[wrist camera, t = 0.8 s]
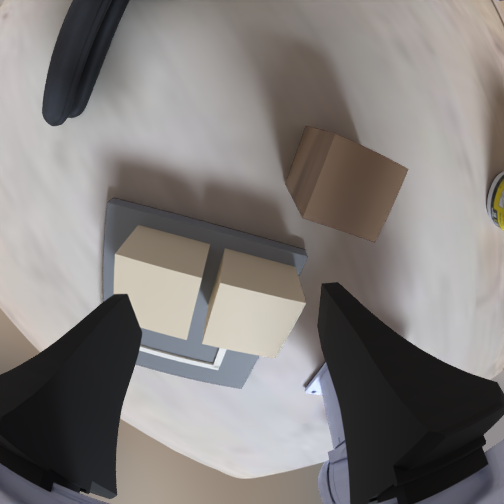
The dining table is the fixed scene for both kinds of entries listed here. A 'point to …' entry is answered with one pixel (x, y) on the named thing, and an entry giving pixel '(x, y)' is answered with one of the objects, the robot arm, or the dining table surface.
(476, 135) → the dining table surface
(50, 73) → the can opener
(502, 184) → the supplement bottle
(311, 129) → the walnut block
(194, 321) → the board
